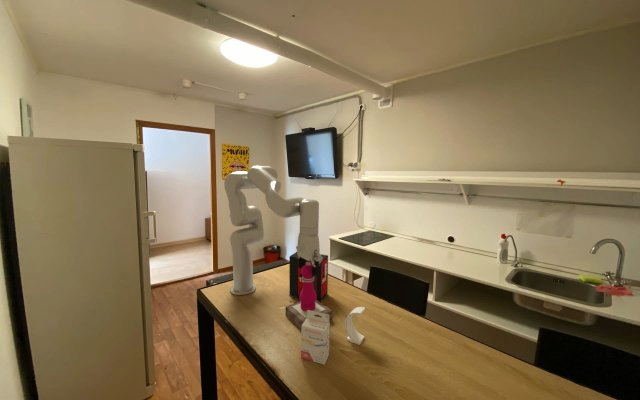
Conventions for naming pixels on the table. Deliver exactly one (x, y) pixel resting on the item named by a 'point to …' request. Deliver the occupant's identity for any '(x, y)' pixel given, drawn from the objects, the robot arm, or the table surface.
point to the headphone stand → (350, 330)
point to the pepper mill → (307, 289)
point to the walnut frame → (305, 312)
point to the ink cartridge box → (315, 337)
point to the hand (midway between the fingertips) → (308, 271)
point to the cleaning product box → (319, 280)
